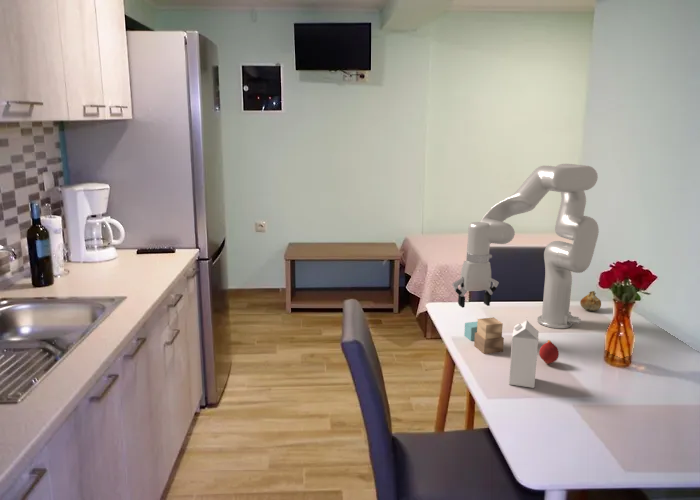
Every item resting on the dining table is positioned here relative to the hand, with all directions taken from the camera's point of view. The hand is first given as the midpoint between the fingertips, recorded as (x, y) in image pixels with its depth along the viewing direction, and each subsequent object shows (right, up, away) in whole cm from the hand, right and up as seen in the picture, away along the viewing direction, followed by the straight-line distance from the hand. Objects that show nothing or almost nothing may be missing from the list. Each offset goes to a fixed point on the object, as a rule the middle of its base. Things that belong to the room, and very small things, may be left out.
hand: (474, 305), depth 197 cm
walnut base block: (+3, -14, -7) cm, 16 cm away
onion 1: (+19, -17, -19) cm, 32 cm away
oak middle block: (+3, -9, -8) cm, 13 cm away
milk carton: (+7, -20, -31) cm, 37 cm away
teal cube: (+1, -12, +3) cm, 12 cm away
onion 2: (+54, -5, +31) cm, 63 cm away
